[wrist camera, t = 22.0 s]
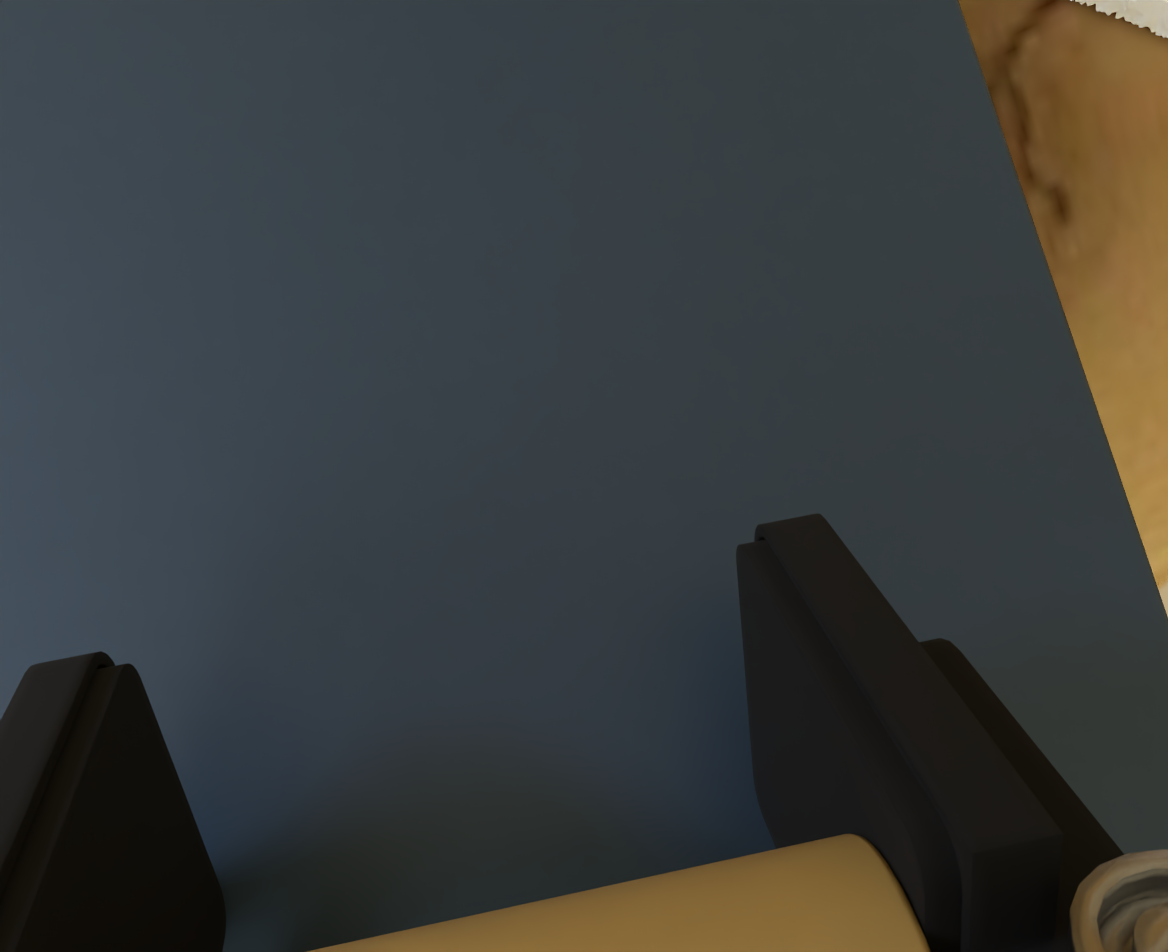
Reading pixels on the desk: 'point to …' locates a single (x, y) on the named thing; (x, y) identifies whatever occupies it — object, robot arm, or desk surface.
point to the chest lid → (537, 442)
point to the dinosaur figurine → (1137, 12)
